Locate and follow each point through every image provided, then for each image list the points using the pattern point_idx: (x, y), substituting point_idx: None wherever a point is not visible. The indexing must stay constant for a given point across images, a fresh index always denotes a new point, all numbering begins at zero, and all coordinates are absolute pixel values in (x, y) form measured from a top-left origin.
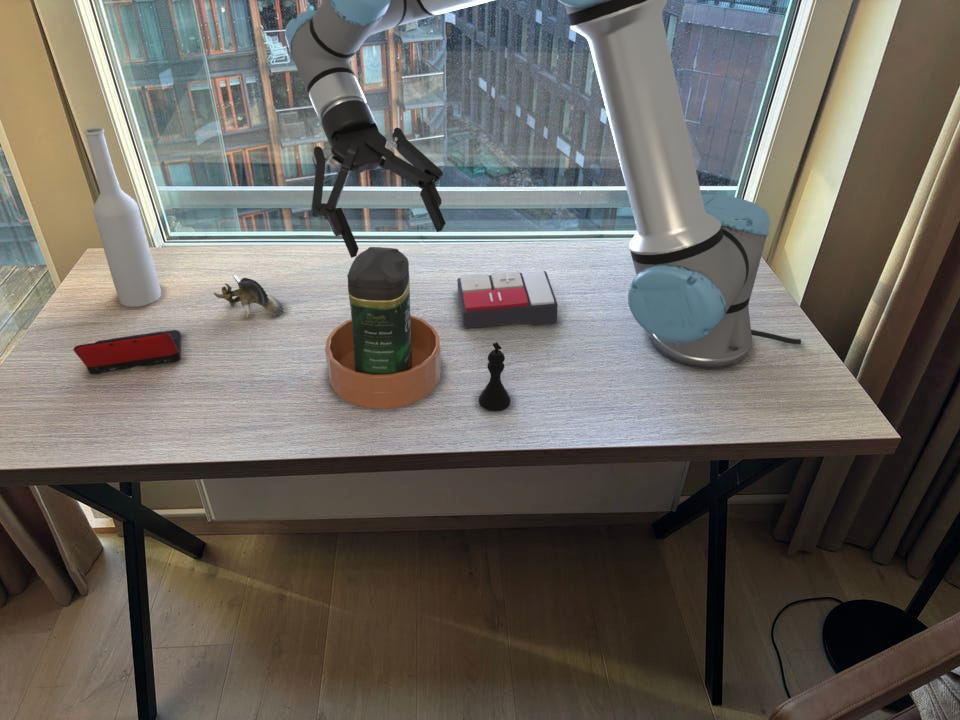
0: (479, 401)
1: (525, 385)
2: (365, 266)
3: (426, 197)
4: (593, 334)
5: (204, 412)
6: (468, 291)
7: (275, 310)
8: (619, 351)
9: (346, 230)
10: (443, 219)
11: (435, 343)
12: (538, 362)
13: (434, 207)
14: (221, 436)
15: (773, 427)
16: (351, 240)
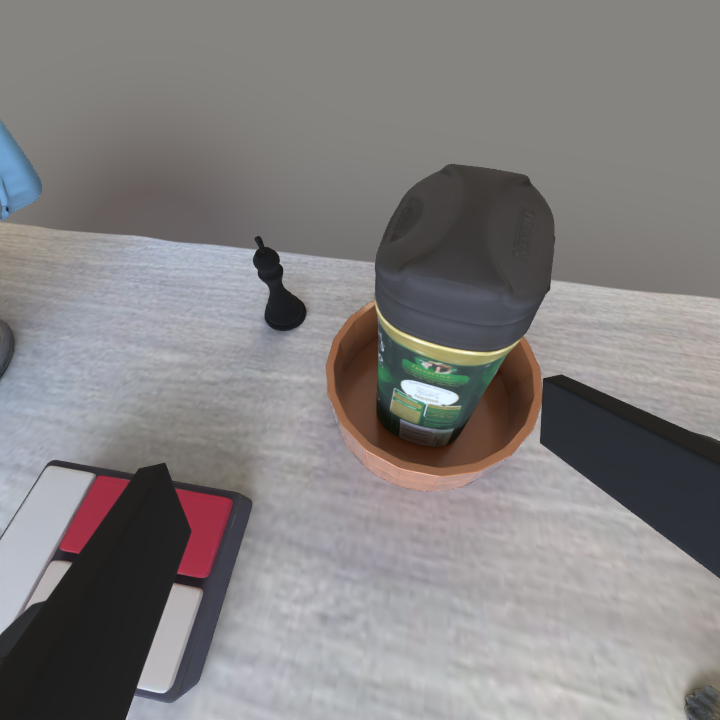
0: (305, 311)
1: (232, 334)
2: (510, 197)
3: (82, 678)
4: (53, 426)
5: (694, 366)
6: (188, 586)
7: (715, 712)
8: (58, 376)
9: (640, 412)
10: (133, 481)
11: (335, 375)
12: (186, 376)
13: (117, 535)
14: (643, 319)
15: (38, 237)
16: (588, 390)
